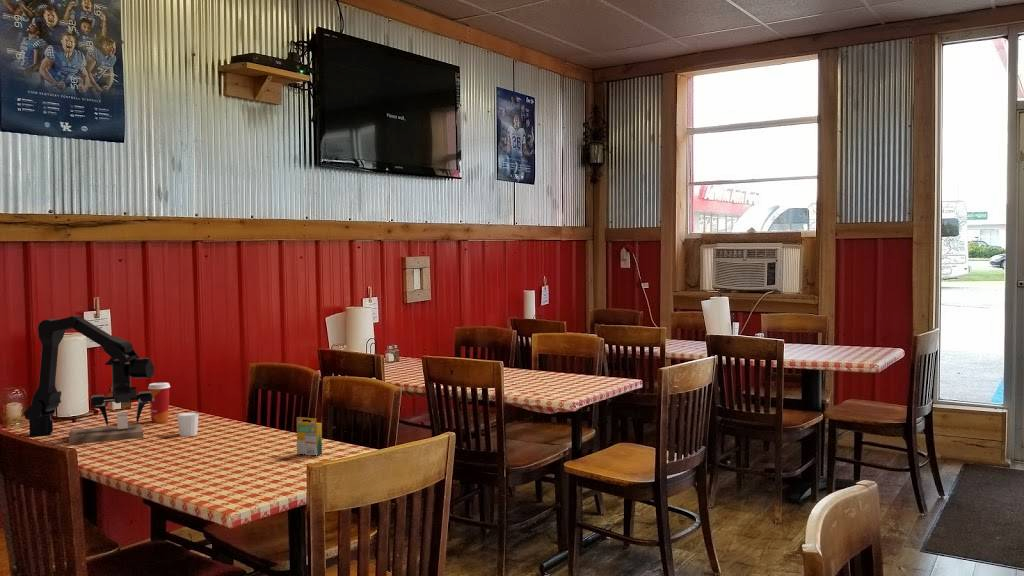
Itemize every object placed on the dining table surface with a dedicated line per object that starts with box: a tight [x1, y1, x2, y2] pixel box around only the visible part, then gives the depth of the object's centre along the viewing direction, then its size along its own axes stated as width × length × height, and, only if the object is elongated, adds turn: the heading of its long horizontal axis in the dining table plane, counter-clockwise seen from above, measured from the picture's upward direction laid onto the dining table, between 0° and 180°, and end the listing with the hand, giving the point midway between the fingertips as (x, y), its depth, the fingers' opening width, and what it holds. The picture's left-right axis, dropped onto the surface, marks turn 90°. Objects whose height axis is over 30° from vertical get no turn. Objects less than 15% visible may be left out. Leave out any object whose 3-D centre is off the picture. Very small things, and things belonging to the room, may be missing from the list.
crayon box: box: [296, 416, 323, 457], centre depth 250 cm, size 7×3×12 cm, turn 70°
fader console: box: [68, 423, 144, 445], centre depth 276 cm, size 22×14×2 cm, turn 117°
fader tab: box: [116, 412, 129, 430], centre depth 278 cm, size 3×6×5 cm, turn 27°
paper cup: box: [147, 382, 171, 424], centre depth 301 cm, size 8×8×14 cm
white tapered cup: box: [176, 412, 200, 437], centre depth 279 cm, size 7×7×7 cm
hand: (122, 423), depth 278 cm, fingers open, 9 cm apart
